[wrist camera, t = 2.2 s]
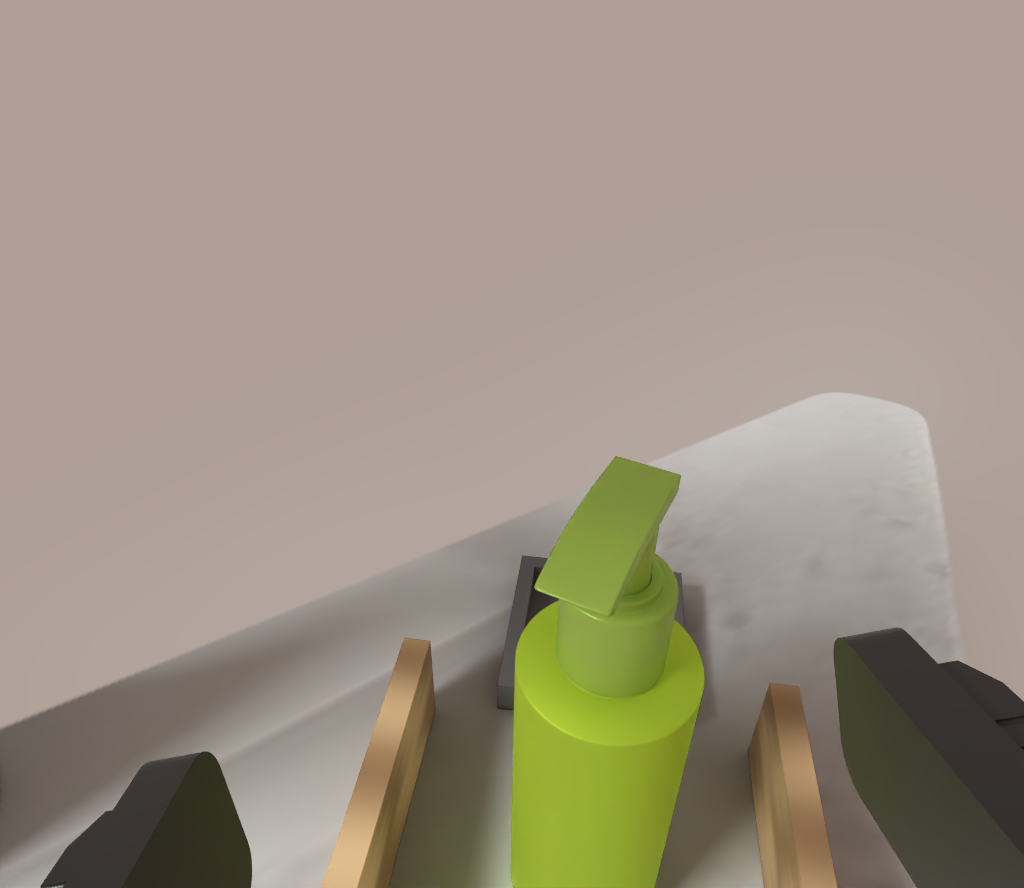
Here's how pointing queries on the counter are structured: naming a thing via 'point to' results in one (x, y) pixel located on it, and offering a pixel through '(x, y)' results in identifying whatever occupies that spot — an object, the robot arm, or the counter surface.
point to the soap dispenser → (603, 696)
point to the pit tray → (524, 611)
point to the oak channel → (401, 743)
